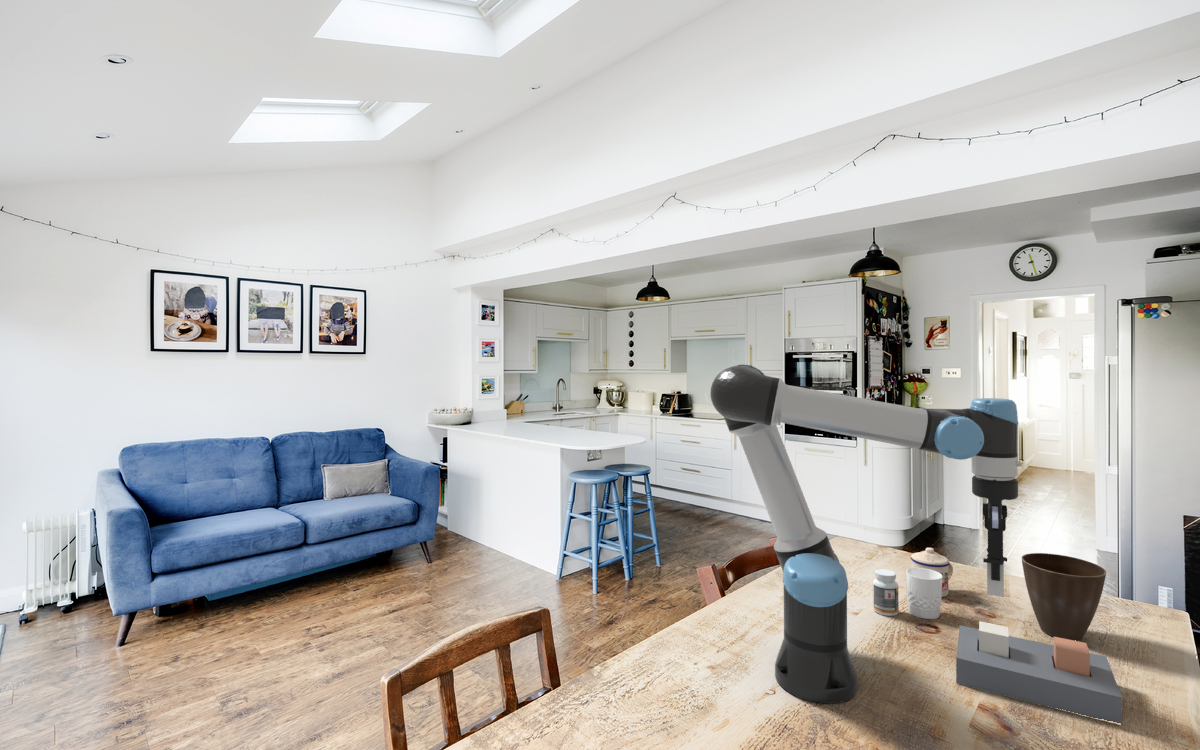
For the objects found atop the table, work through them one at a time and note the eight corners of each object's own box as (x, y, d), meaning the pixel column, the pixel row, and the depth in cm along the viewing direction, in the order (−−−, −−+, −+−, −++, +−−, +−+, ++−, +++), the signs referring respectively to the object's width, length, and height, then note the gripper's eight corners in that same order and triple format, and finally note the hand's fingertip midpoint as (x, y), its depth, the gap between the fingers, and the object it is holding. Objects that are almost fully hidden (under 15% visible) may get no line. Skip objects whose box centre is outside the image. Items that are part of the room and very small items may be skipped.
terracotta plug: (1089, 685, 104) (1089, 654, 104) (1055, 677, 107) (1056, 647, 106) (1085, 673, 108) (1086, 643, 108) (1053, 665, 111) (1053, 636, 110)
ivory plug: (1008, 666, 111) (1008, 636, 111) (978, 659, 113) (978, 630, 113) (1007, 655, 115) (1008, 627, 114) (979, 649, 117) (979, 621, 117)
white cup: (909, 603, 147) (909, 565, 146) (945, 612, 142) (945, 572, 141) (902, 614, 140) (902, 574, 140) (939, 623, 135) (939, 582, 135)
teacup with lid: (929, 600, 149) (929, 555, 148) (902, 586, 157) (902, 544, 157) (966, 594, 152) (966, 551, 151) (937, 581, 160) (938, 540, 160)
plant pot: (1048, 614, 139) (1048, 549, 139) (1121, 642, 125) (1122, 570, 125) (1005, 624, 134) (1006, 557, 134) (1077, 655, 120) (1078, 580, 120)
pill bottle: (903, 616, 139) (903, 576, 139) (879, 616, 139) (879, 576, 139) (891, 606, 145) (891, 568, 145) (868, 606, 145) (868, 568, 145)
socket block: (1121, 726, 97) (1122, 697, 97) (956, 683, 111) (956, 657, 111) (1105, 681, 111) (1106, 656, 110) (959, 647, 124) (959, 625, 124)
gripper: (1019, 484, 105) (1020, 611, 106) (1016, 472, 116) (1017, 587, 117) (971, 480, 110) (972, 602, 110) (972, 469, 120) (973, 579, 121)
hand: (995, 594), depth 114 cm, fingers closed
